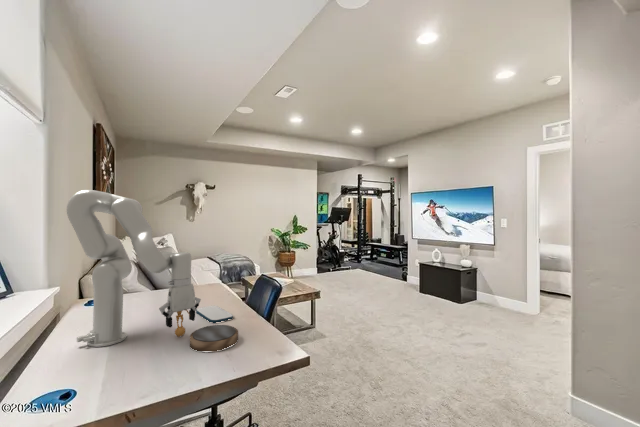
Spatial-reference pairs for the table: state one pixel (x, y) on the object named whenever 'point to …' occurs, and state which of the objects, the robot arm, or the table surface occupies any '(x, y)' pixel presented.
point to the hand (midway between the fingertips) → (180, 323)
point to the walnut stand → (213, 338)
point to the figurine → (181, 330)
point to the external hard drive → (214, 314)
